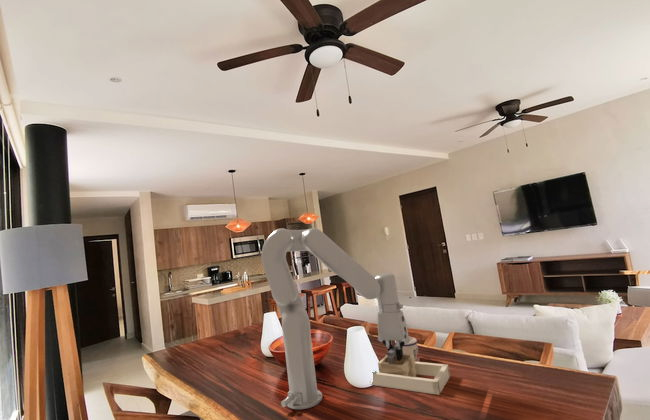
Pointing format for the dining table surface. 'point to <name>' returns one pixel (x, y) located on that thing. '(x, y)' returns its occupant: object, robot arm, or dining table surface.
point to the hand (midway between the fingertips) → (396, 358)
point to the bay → (416, 379)
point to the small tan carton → (398, 364)
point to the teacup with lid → (411, 348)
